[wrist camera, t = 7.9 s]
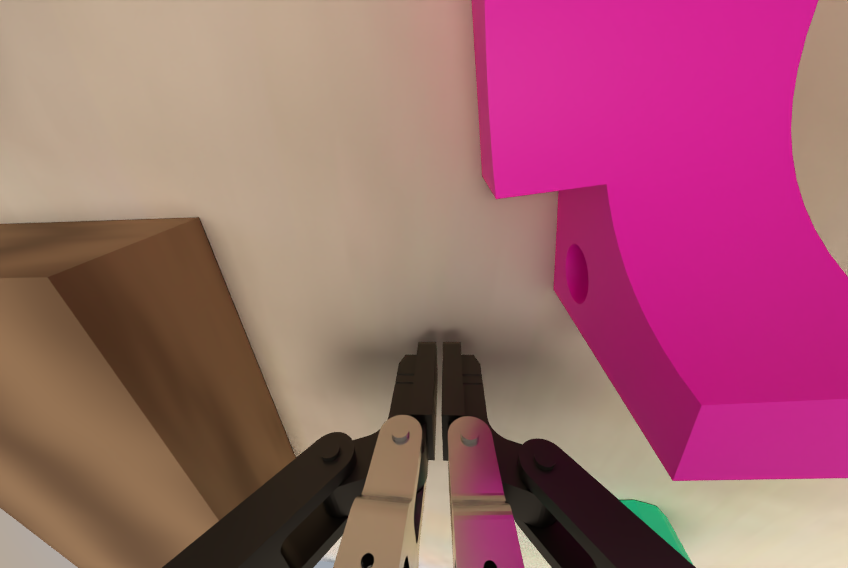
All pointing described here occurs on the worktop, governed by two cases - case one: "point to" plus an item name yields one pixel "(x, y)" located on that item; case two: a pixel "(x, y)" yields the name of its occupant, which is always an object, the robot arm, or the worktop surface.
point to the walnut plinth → (126, 390)
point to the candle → (656, 523)
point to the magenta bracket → (678, 218)
